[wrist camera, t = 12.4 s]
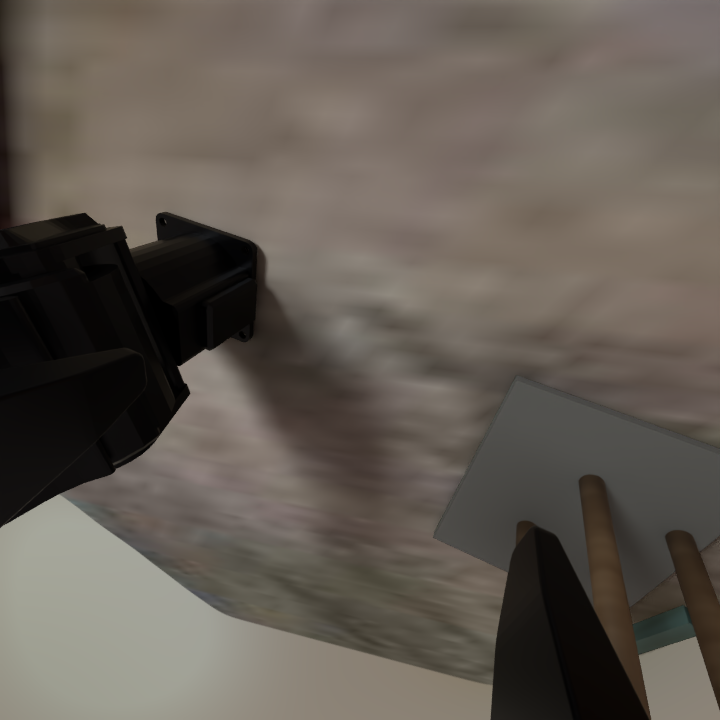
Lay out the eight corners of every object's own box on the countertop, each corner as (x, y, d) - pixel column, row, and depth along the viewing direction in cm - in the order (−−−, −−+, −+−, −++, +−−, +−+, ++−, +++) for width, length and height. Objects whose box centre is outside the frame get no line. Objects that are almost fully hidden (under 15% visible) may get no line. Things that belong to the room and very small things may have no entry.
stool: (512, 526, 24) (496, 808, 14) (590, 470, 21) (642, 800, 11) (603, 585, 24) (654, 917, 14) (700, 539, 20) (864, 949, 10)
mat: (434, 531, 28) (433, 537, 27) (516, 375, 20) (516, 380, 20) (612, 613, 26) (613, 620, 25) (783, 471, 18) (789, 479, 17)
